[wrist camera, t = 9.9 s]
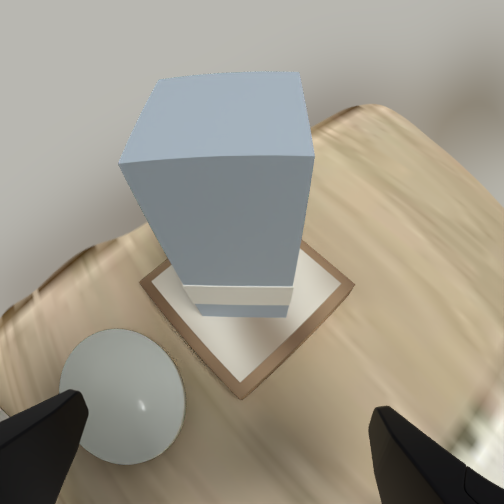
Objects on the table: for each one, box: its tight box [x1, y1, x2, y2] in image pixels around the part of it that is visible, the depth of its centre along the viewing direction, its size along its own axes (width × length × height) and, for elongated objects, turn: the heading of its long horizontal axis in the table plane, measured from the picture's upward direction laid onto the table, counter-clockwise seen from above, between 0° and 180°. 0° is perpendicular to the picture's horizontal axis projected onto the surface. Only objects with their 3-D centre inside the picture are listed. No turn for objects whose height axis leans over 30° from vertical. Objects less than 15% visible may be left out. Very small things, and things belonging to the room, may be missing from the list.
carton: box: [118, 72, 315, 318], centre depth 14 cm, size 5×5×12 cm
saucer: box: [59, 329, 186, 465], centre depth 17 cm, size 9×9×2 cm
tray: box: [139, 239, 355, 400], centre depth 20 cm, size 10×10×2 cm
